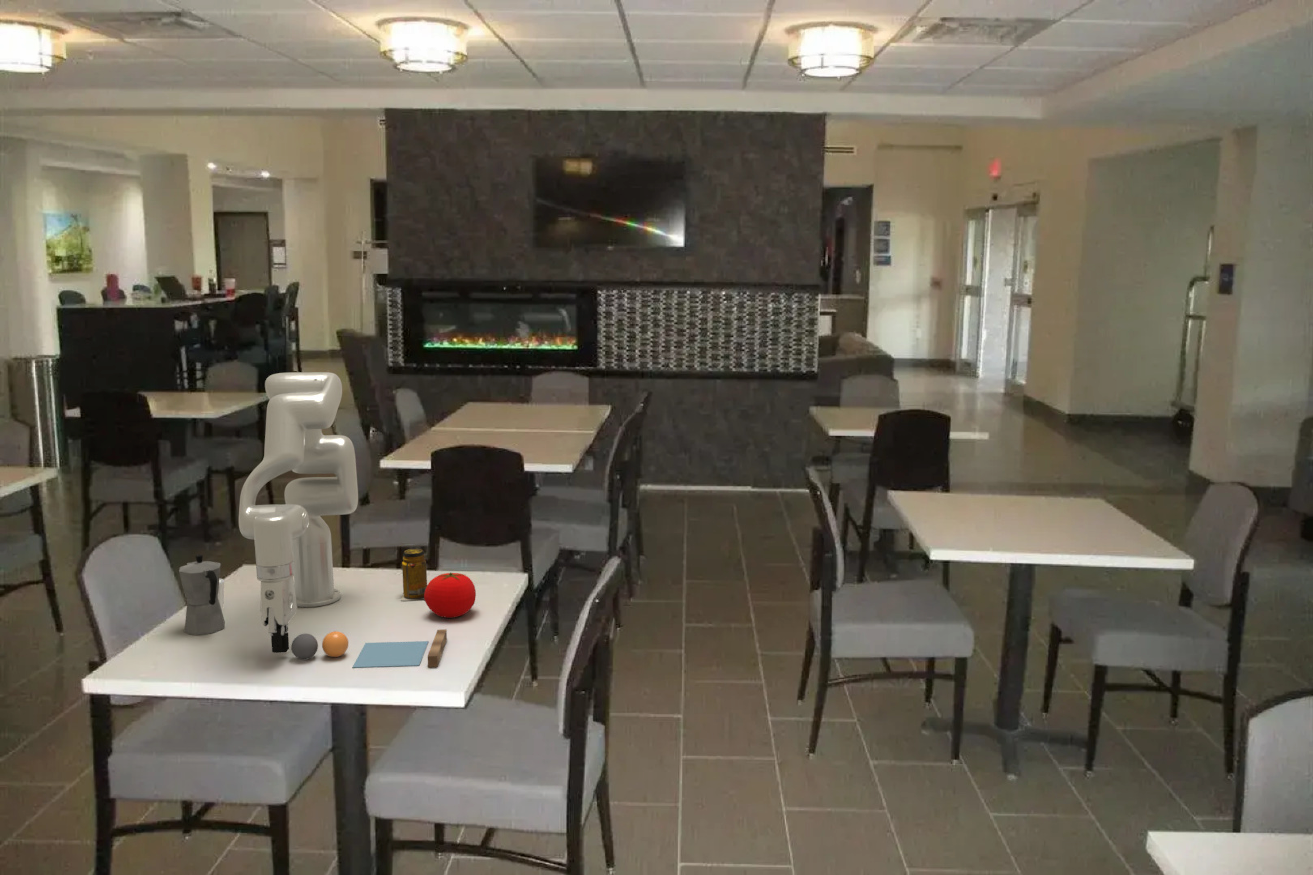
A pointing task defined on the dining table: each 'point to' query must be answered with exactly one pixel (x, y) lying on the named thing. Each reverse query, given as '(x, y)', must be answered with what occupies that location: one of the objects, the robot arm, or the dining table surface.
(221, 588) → the shot glass
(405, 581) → the condiment
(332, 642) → the object ball
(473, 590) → the tomato
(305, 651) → the gray sphere
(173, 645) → the dining table surface
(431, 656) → the stopper wall
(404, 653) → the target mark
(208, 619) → the coffeepot
